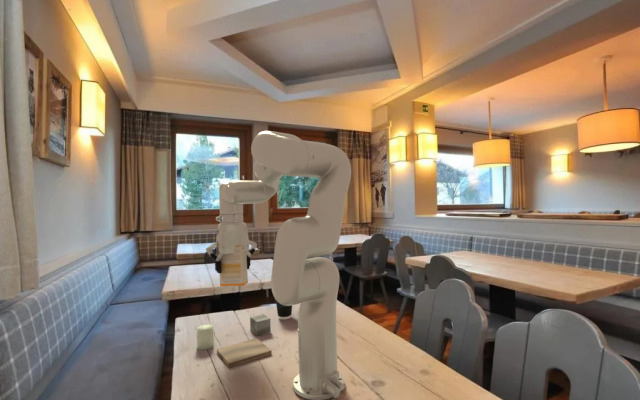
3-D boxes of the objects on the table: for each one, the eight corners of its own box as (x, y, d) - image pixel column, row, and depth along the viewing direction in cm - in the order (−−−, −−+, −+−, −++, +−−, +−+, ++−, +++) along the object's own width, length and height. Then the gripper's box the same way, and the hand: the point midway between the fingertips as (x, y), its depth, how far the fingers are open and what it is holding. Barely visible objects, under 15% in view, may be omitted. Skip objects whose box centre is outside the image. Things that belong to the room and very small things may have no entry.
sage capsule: (215, 346, 104) (215, 328, 104) (199, 351, 101) (199, 332, 101) (211, 341, 108) (210, 323, 108) (195, 345, 105) (194, 327, 105)
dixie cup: (293, 312, 133) (292, 286, 133) (296, 319, 126) (295, 291, 126) (273, 314, 132) (273, 287, 132) (275, 321, 124) (274, 293, 124)
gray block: (270, 332, 114) (270, 318, 114) (257, 336, 111) (256, 321, 111) (263, 327, 119) (263, 313, 119) (250, 330, 116) (250, 316, 116)
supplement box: (248, 282, 111) (247, 244, 111) (243, 286, 106) (242, 246, 107) (225, 283, 112) (223, 244, 112) (219, 286, 107) (217, 246, 108)
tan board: (271, 354, 98) (271, 350, 98) (229, 367, 90) (229, 363, 90) (256, 341, 107) (256, 338, 107) (216, 353, 100) (216, 349, 100)
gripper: (208, 221, 102) (210, 276, 102) (260, 218, 112) (261, 268, 111) (202, 220, 108) (203, 272, 108) (251, 217, 118) (253, 265, 118)
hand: (233, 270), depth 110 cm, fingers closed on supplement box, 9 cm apart
